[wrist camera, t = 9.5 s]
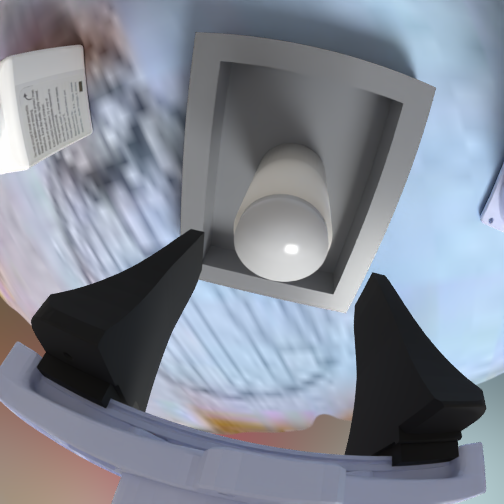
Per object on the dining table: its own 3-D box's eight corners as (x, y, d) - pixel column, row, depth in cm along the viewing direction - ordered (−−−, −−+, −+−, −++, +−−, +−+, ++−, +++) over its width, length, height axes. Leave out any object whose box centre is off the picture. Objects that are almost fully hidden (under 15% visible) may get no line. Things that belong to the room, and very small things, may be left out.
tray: (418, 83, 14) (436, 87, 12) (344, 287, 24) (345, 313, 22) (212, 36, 15) (195, 32, 12) (193, 252, 25) (180, 274, 23)
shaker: (333, 153, 17) (347, 213, 11) (315, 212, 20) (315, 293, 14) (264, 136, 18) (236, 186, 11) (253, 197, 20) (224, 272, 14)
